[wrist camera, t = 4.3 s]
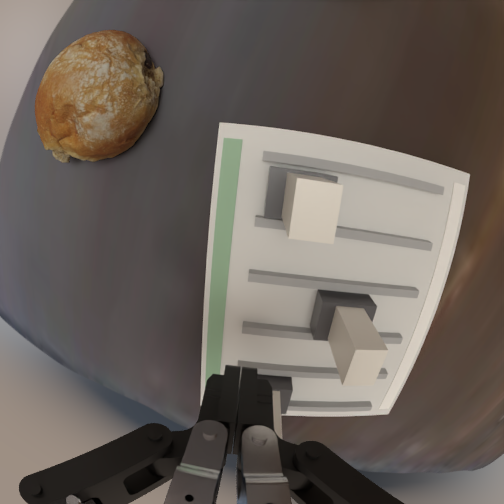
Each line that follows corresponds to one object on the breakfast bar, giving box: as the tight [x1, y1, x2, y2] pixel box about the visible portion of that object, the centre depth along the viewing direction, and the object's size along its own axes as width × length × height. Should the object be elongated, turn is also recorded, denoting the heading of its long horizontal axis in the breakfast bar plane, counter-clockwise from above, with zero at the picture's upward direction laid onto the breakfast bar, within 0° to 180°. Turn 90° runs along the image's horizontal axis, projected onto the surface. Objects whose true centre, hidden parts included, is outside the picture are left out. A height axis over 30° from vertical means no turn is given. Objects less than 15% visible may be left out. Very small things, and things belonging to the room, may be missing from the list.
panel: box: [201, 123, 470, 416], centre depth 22 cm, size 19×24×2 cm
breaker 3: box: [310, 289, 388, 386], centre depth 18 cm, size 4×3×7 cm
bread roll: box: [35, 30, 164, 163], centre depth 17 cm, size 10×10×8 cm
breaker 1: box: [257, 374, 293, 439], centre depth 21 cm, size 4×3×7 cm
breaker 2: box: [264, 166, 344, 244], centre depth 16 cm, size 4×3×7 cm
